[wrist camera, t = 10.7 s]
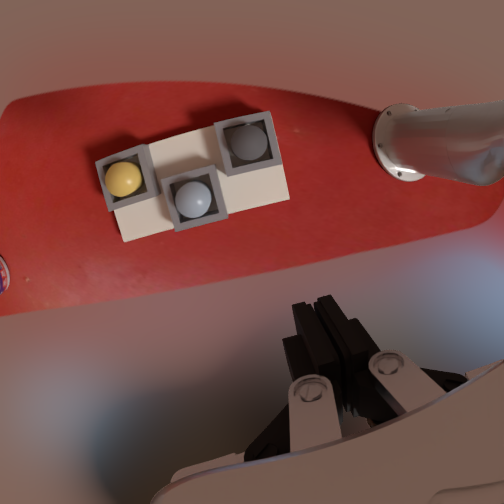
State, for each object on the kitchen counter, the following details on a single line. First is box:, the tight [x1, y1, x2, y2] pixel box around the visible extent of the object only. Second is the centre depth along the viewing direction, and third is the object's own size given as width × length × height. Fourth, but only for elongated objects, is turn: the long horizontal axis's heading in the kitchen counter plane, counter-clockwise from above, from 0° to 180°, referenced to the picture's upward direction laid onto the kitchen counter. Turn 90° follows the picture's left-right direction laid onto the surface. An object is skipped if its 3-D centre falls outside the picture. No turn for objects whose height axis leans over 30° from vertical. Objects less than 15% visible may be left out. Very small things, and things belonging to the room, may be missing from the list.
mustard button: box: [105, 161, 144, 197], centre depth 34 cm, size 4×4×4 cm
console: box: [95, 111, 290, 242], centre depth 37 cm, size 24×12×5 cm, turn 103°
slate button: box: [175, 180, 212, 218], centre depth 36 cm, size 4×4×4 cm
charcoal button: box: [231, 125, 267, 160], centre depth 34 cm, size 4×4×4 cm
